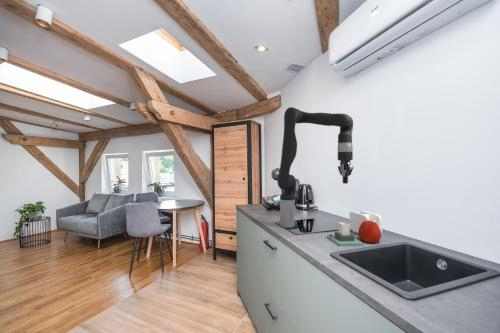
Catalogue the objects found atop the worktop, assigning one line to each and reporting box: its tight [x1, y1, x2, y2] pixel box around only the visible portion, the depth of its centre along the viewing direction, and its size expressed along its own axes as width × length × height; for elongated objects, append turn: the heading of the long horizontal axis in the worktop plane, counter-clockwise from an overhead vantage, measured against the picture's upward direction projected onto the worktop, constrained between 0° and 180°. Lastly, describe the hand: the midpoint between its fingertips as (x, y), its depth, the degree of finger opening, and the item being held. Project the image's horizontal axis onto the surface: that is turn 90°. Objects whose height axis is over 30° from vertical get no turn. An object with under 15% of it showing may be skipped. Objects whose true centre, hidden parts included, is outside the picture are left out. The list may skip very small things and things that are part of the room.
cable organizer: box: [349, 210, 383, 235], centre depth 127 cm, size 15×11×12 cm
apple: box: [357, 221, 382, 244], centre depth 113 cm, size 10×10×10 cm
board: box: [326, 231, 364, 247], centre depth 113 cm, size 14×12×4 cm
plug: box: [337, 221, 351, 236], centre depth 114 cm, size 4×4×8 cm
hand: (345, 183), depth 120 cm, fingers closed
